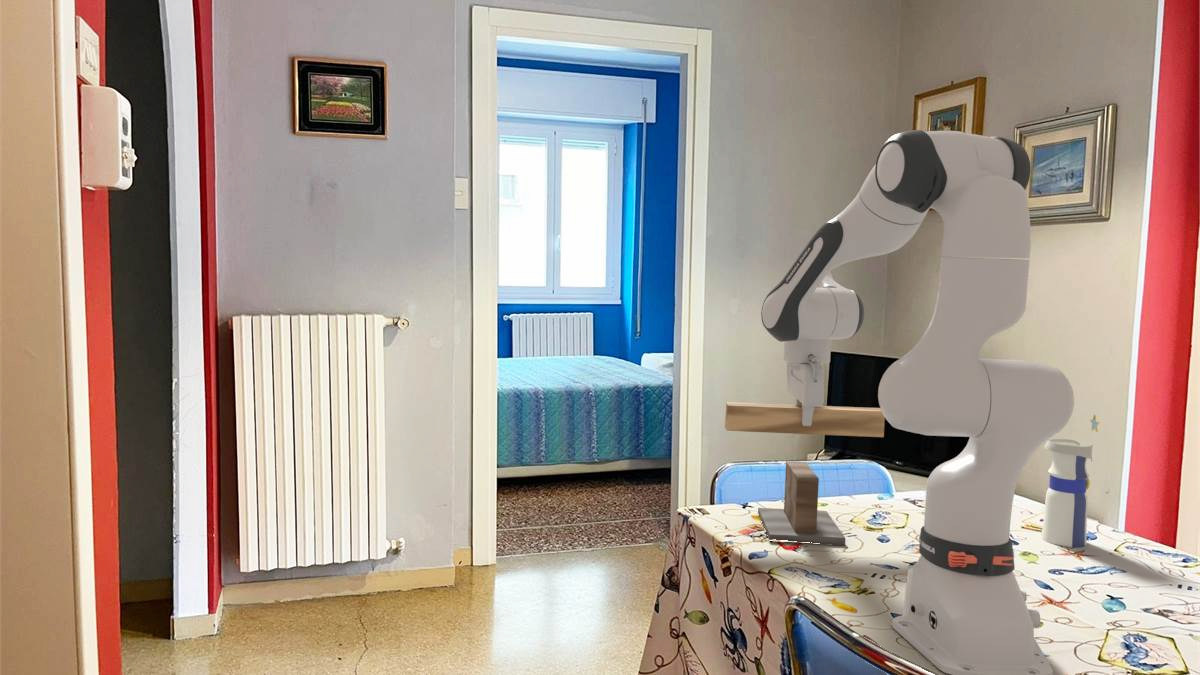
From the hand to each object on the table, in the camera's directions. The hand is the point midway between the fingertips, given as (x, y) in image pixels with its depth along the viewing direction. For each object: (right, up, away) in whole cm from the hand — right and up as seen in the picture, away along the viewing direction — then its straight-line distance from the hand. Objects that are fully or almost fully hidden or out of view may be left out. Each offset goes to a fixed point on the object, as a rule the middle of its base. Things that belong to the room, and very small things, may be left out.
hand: (803, 422), depth 164 cm
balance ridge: (-1, -21, +2) cm, 21 cm away
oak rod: (0, -2, 0) cm, 2 cm away
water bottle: (+50, -23, -1) cm, 55 cm away
